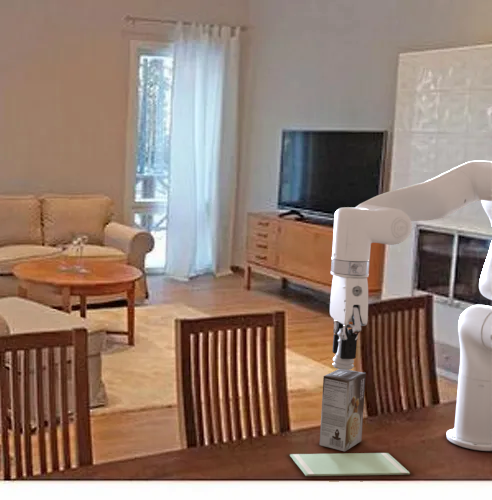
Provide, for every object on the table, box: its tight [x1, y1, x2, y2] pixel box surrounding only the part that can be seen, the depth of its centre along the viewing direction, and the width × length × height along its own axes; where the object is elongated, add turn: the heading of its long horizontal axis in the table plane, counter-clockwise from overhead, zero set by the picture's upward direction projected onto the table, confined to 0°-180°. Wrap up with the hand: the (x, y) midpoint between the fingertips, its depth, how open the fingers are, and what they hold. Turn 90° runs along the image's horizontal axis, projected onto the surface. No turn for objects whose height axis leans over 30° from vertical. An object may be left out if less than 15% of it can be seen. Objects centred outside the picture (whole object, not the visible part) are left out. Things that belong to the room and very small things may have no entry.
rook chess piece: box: [331, 328, 355, 370], centre depth 174 cm, size 4×4×8 cm
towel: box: [289, 452, 411, 477], centre depth 176 cm, size 22×11×1 cm, turn 97°
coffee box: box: [319, 369, 367, 453], centre depth 188 cm, size 9×6×16 cm
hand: (343, 355), depth 174 cm, fingers closed on rook chess piece, 3 cm apart
